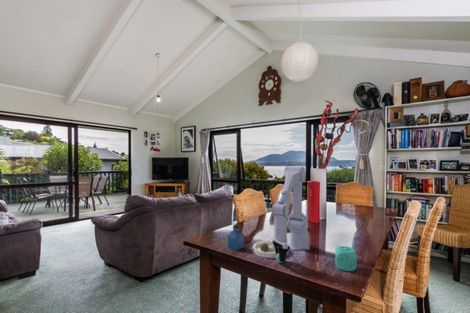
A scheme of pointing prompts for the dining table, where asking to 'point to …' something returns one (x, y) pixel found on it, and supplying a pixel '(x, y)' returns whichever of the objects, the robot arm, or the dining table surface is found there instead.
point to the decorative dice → (345, 258)
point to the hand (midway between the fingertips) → (280, 259)
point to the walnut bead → (264, 247)
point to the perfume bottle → (236, 238)
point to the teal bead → (278, 258)
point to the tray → (269, 254)
